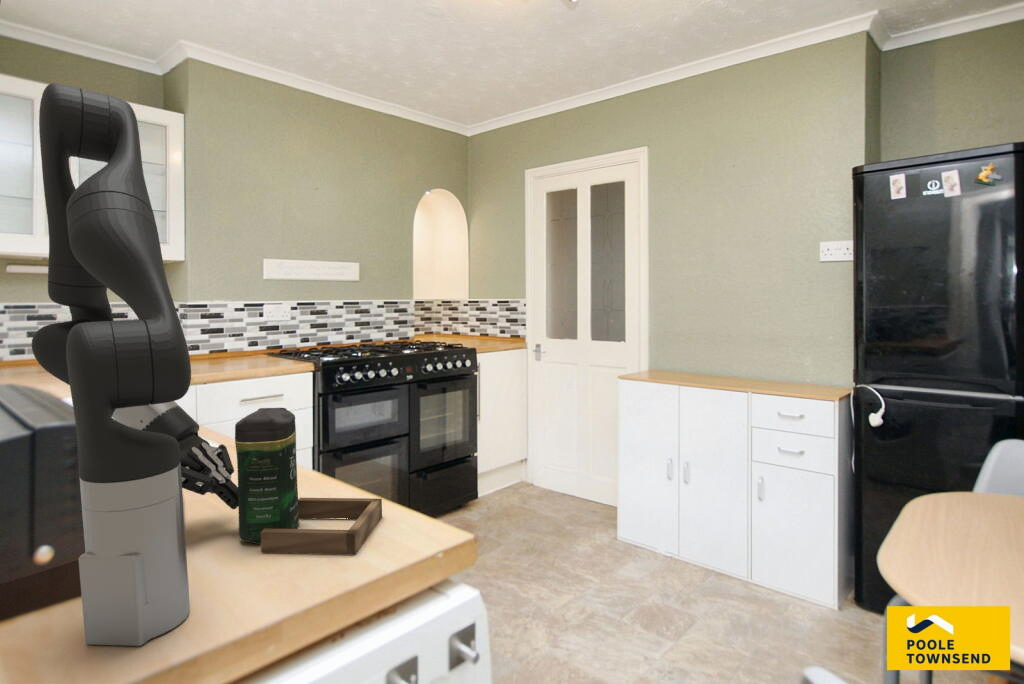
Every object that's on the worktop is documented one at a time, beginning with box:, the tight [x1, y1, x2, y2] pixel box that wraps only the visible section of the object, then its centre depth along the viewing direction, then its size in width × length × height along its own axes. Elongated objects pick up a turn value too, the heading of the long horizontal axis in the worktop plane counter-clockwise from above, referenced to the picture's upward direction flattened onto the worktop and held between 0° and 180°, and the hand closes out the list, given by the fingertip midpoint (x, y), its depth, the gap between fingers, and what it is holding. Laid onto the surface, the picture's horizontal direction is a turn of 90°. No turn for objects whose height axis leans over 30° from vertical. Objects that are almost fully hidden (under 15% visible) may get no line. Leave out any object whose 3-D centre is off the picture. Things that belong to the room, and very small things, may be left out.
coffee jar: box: [234, 407, 300, 545], centre depth 89 cm, size 10×8×19 cm
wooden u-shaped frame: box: [260, 497, 383, 555], centre depth 89 cm, size 13×13×3 cm
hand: (240, 503), depth 90 cm, fingers closed
